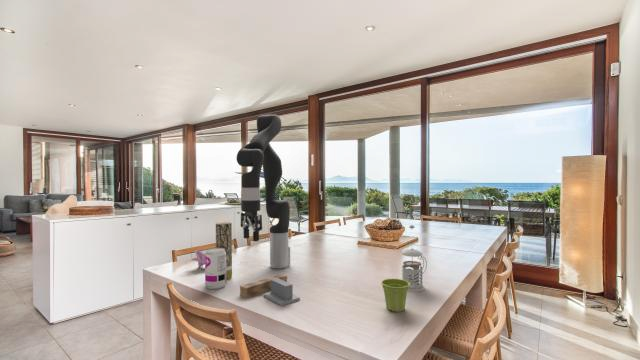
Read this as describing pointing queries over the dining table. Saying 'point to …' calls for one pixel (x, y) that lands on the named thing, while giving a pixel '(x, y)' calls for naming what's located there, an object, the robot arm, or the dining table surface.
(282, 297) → the ridge
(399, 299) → the plant pot
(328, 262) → the dining table surface
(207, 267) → the supplement can
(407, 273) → the french press
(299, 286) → the dining table surface
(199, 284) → the dining table surface
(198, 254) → the lily
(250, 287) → the batten
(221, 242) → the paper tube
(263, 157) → the robot arm
